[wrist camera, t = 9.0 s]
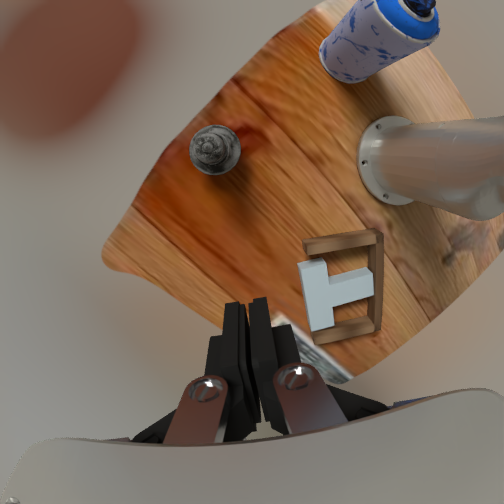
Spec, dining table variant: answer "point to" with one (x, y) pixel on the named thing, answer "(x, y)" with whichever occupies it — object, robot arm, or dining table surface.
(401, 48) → the aerosol can
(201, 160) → the grey stone statue
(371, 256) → the corral
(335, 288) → the t block
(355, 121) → the dining table surface
